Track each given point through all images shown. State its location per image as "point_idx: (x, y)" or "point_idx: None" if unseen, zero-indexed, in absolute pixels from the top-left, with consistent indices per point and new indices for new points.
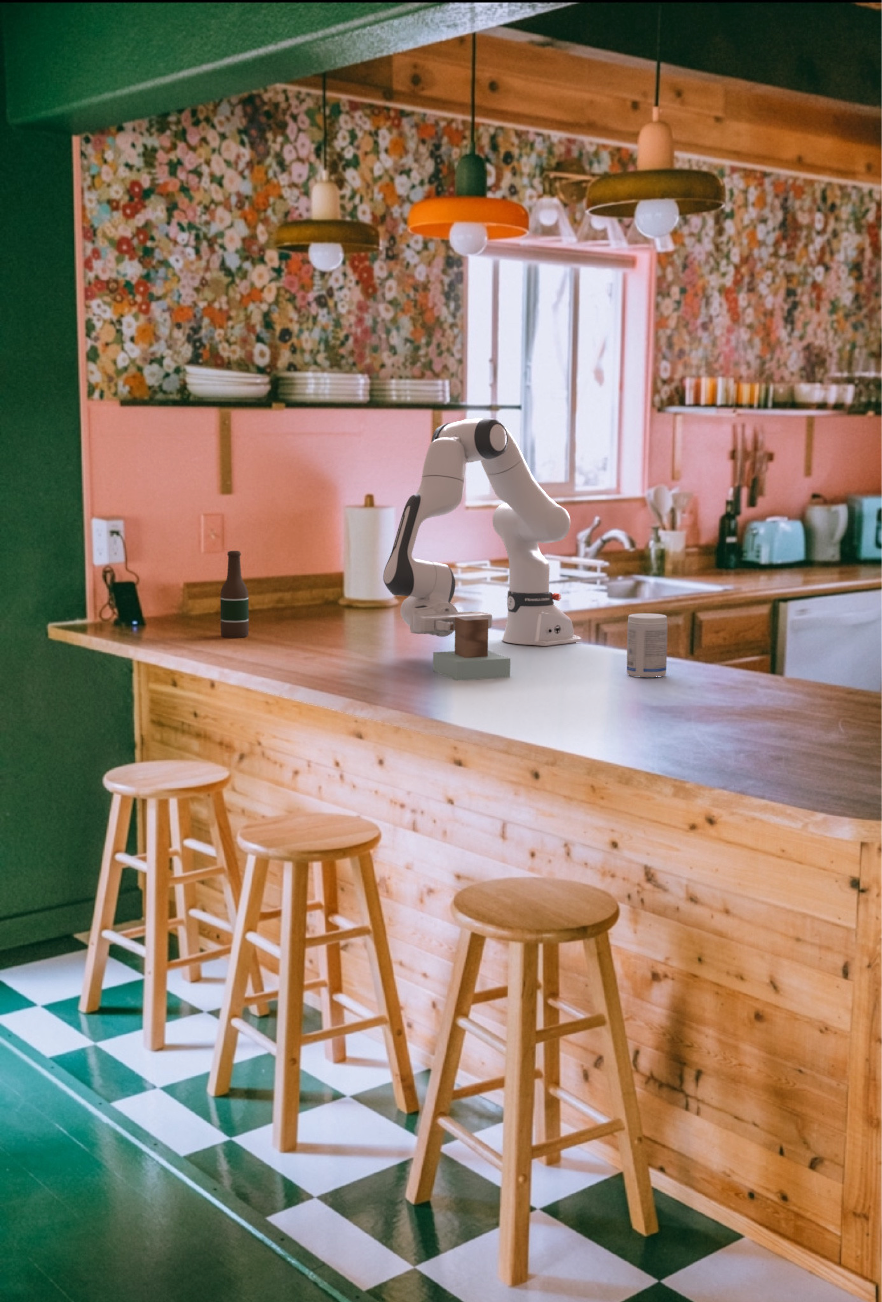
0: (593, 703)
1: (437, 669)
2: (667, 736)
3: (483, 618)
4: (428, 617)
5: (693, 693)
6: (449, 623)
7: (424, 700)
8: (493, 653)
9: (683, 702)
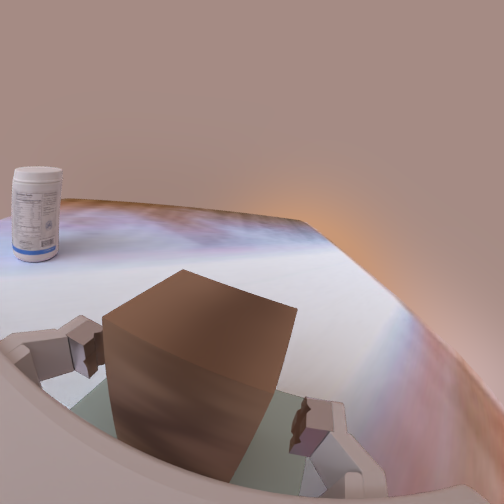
0: (235, 266)
1: None
2: (276, 239)
3: (179, 282)
4: (448, 497)
5: (121, 232)
6: (332, 401)
7: (409, 353)
8: (97, 398)
9: (167, 235)
